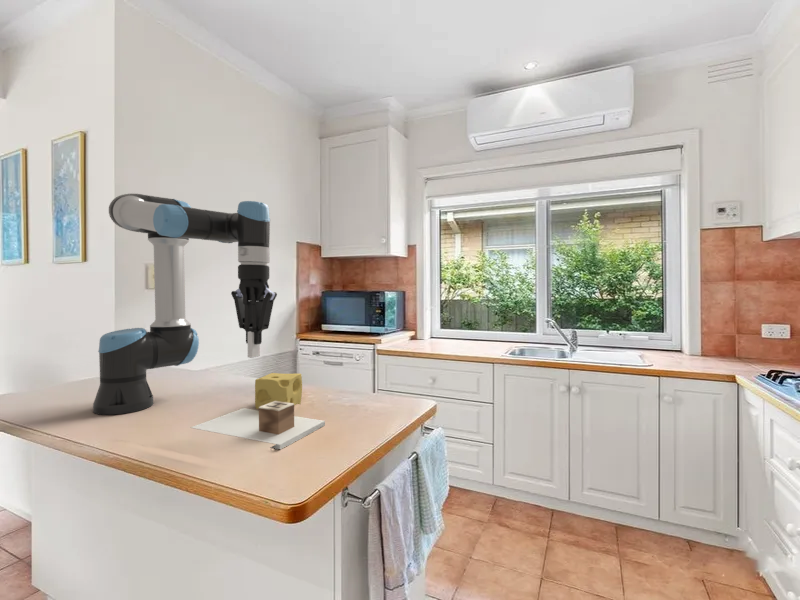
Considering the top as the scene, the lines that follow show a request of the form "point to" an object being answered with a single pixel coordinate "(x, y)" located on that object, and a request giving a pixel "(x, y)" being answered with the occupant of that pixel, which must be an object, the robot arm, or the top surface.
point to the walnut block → (276, 417)
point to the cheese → (278, 389)
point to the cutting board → (248, 427)
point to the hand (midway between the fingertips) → (253, 356)
